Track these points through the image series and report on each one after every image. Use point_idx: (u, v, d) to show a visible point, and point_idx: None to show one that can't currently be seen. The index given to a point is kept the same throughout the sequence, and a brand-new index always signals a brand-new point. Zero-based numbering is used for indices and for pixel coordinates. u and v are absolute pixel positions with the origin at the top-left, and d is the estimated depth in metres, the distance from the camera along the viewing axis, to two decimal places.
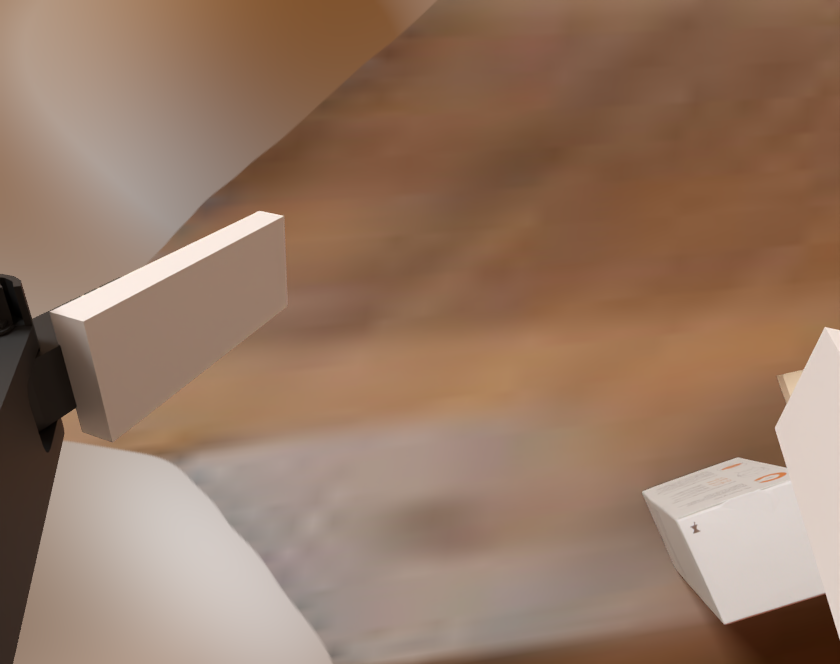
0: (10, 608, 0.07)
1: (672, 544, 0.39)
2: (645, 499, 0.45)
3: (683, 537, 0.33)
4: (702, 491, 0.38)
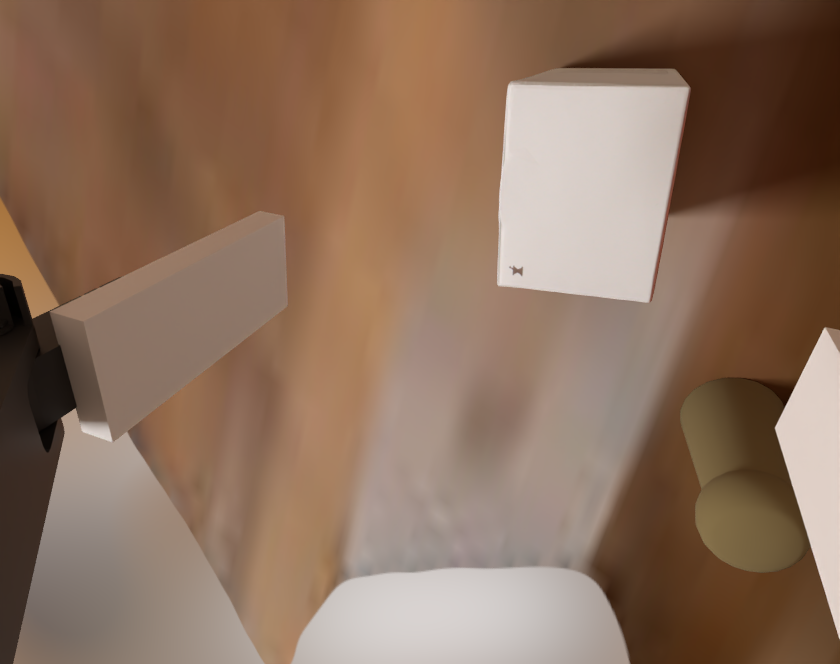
0: (10, 608, 0.07)
1: None
2: None
3: (523, 287, 0.24)
4: None
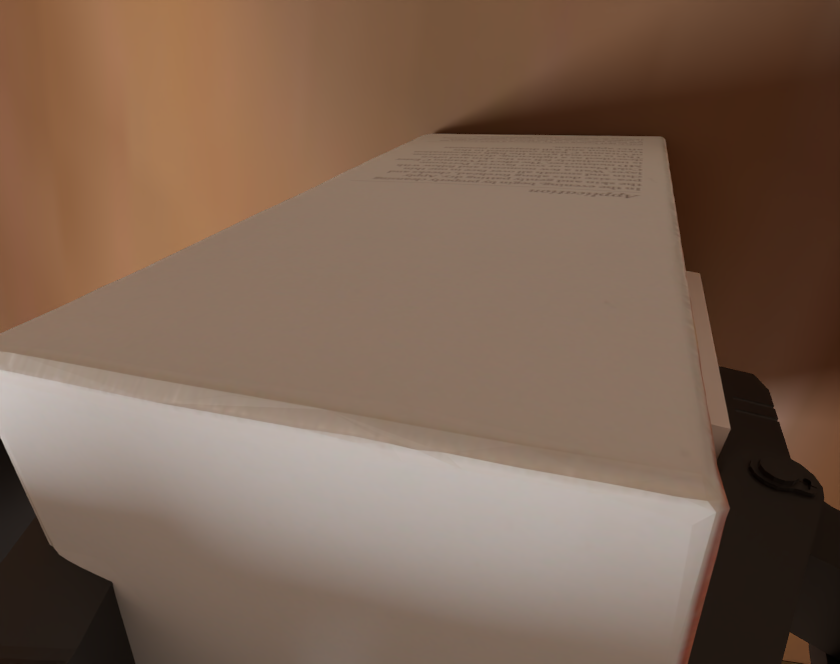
0: None
1: None
2: None
3: None
4: None
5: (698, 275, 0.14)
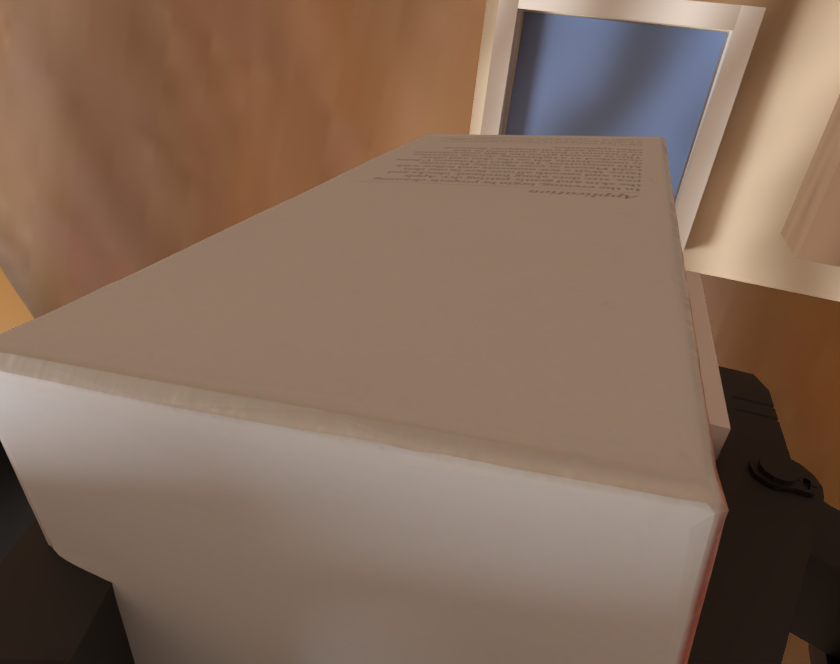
0: None
1: None
2: None
3: None
4: None
5: (698, 275, 0.14)
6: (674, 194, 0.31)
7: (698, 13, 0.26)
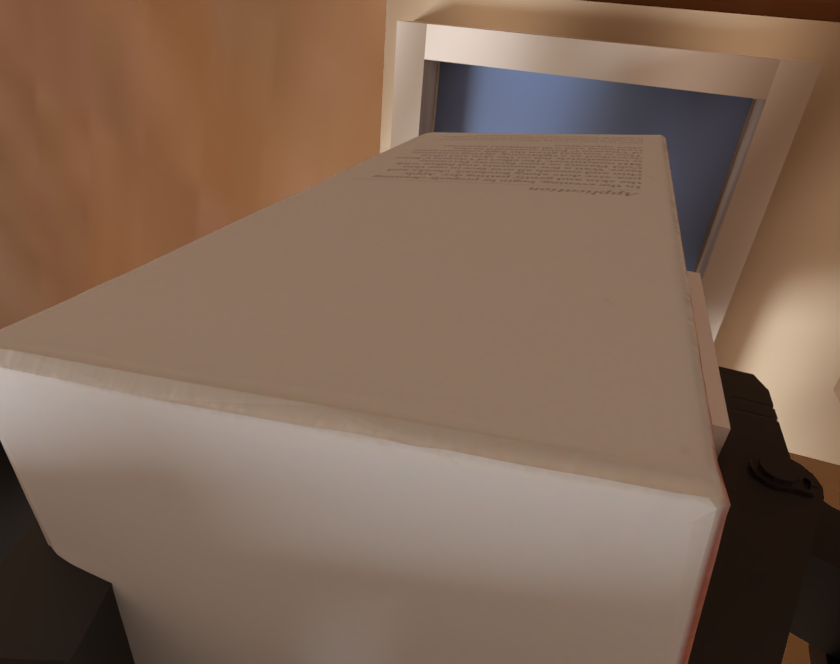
0: None
1: None
2: None
3: None
4: None
5: (698, 275, 0.14)
6: None
7: (708, 71, 0.16)
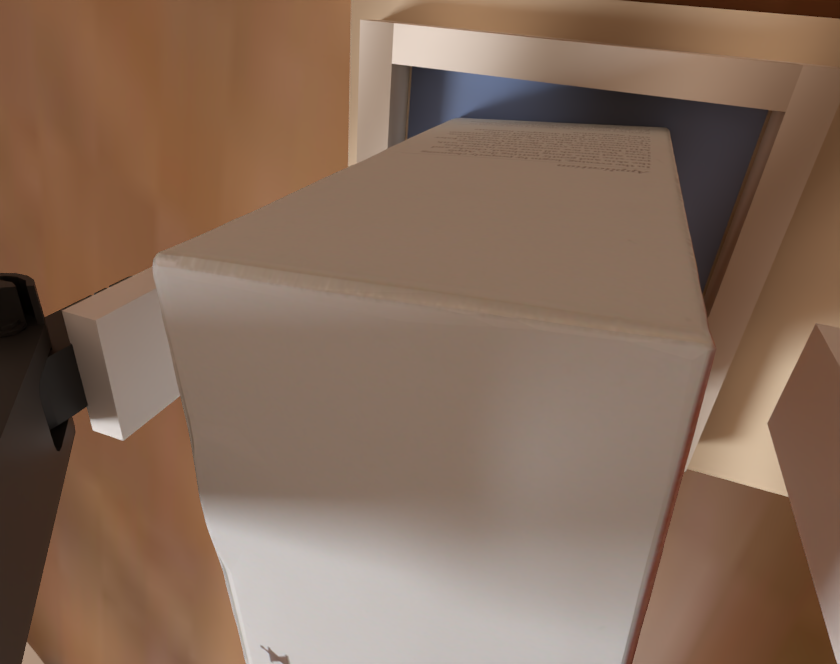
0: (19, 607, 0.07)
1: None
2: None
3: None
4: None
5: None
6: None
7: (718, 78, 0.14)
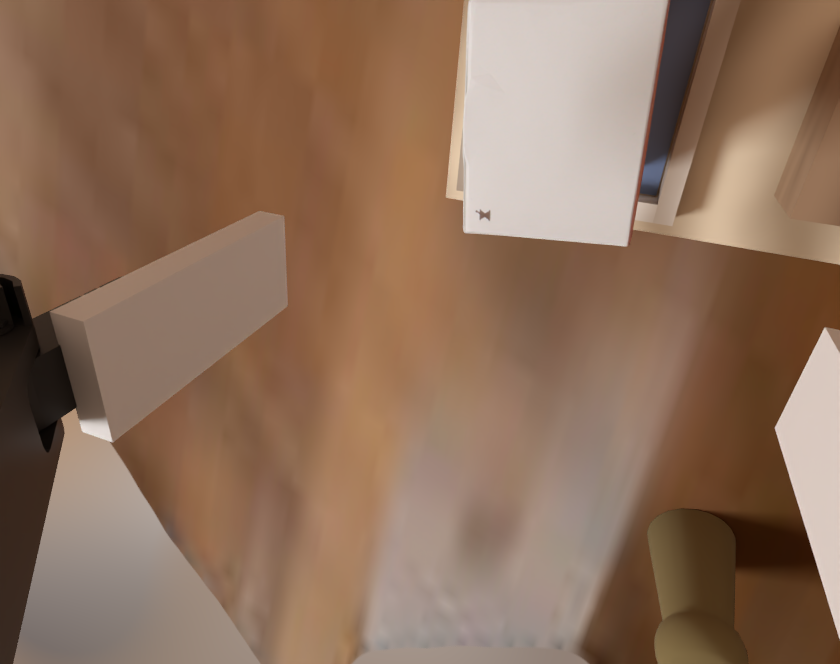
0: (9, 608, 0.07)
1: None
2: None
3: (492, 234, 0.22)
4: None
5: None
6: (664, 159, 0.30)
7: None
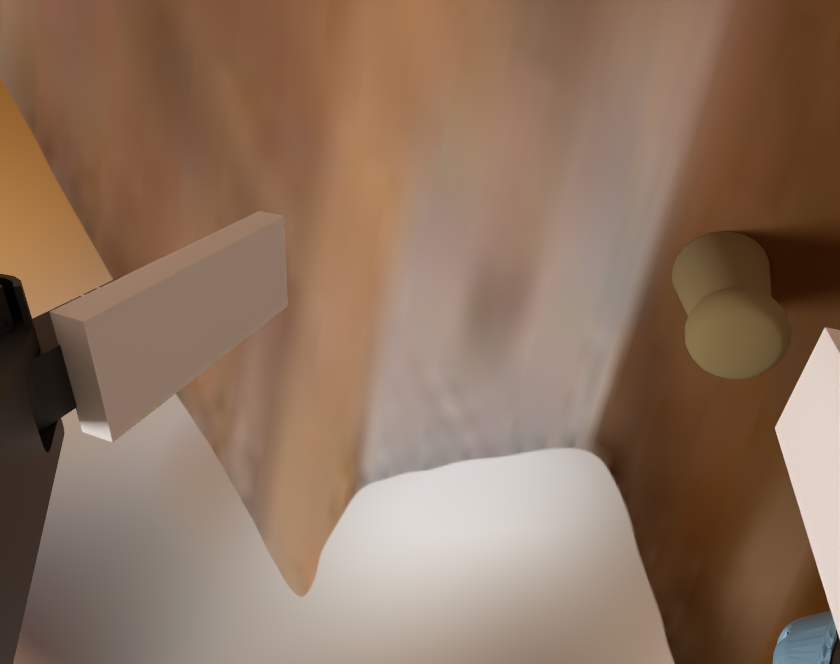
0: (9, 609, 0.07)
1: None
2: None
3: None
4: None
5: None
6: None
7: None
